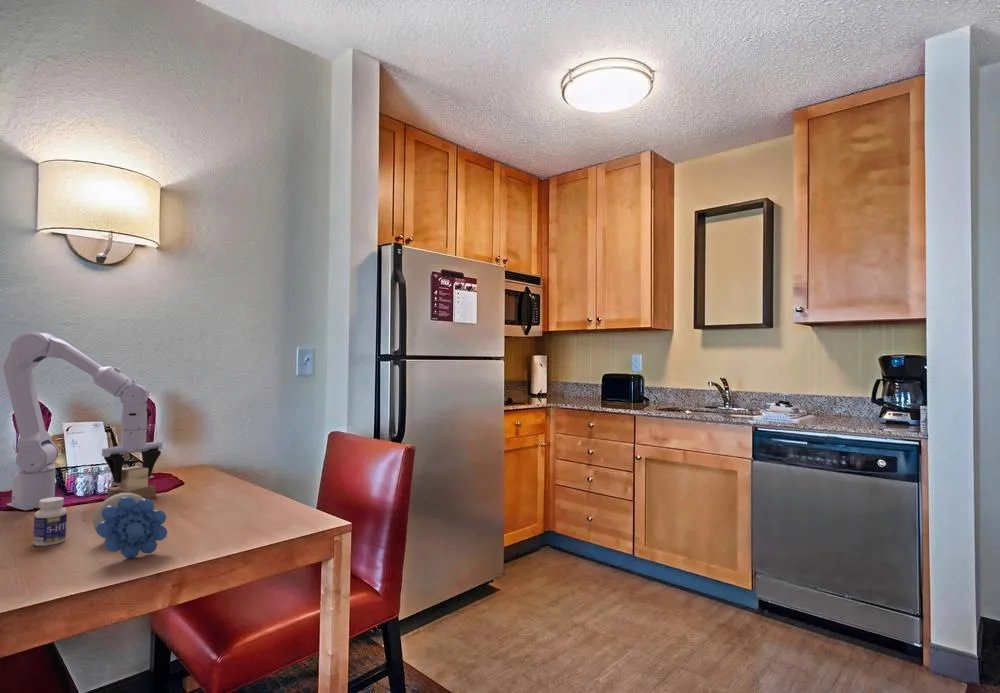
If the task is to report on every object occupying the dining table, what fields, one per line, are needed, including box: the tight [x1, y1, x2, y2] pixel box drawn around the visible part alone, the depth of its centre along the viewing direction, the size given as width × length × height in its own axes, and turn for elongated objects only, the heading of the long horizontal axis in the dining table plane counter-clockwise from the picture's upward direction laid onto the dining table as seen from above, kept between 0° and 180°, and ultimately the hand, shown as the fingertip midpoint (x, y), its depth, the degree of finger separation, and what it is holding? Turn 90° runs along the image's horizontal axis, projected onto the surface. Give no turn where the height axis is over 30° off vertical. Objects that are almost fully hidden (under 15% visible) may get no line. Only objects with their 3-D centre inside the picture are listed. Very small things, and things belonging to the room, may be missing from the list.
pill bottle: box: [32, 496, 68, 547], centre depth 115 cm, size 5×5×9 cm
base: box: [106, 484, 157, 500], centre depth 150 cm, size 8×8×3 cm
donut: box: [92, 493, 143, 540], centre depth 117 cm, size 10×4×10 cm, turn 135°
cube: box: [117, 465, 149, 490], centre depth 150 cm, size 5×5×5 cm
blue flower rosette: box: [95, 497, 168, 559], centre depth 107 cm, size 12×7×12 cm, turn 129°
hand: (132, 479), depth 150 cm, fingers open, 7 cm apart
